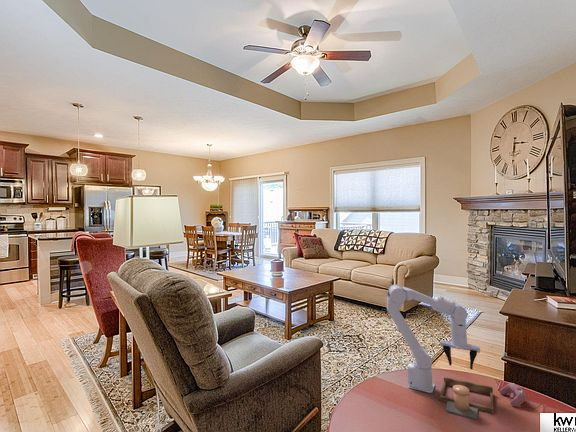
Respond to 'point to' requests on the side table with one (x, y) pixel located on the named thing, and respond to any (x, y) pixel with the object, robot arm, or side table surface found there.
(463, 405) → the beige peg
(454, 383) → the frame
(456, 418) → the side table surface
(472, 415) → the rubber mat
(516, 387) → the video game controller
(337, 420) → the side table surface
